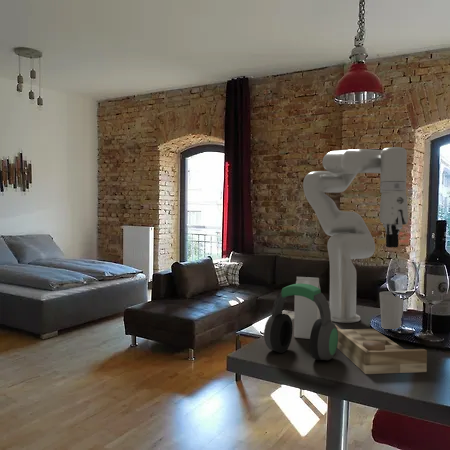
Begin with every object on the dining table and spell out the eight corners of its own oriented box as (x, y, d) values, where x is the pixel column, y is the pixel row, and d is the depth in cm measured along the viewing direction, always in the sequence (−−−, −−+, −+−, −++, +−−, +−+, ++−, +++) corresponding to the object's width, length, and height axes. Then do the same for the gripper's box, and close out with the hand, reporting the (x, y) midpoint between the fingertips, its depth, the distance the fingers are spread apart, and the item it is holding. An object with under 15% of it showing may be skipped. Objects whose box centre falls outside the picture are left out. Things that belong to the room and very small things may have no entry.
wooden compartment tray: (325, 336, 145) (325, 319, 145) (373, 335, 147) (373, 318, 147) (365, 374, 114) (365, 352, 113) (426, 371, 115) (427, 350, 115)
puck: (359, 355, 121) (359, 340, 121) (380, 355, 121) (380, 340, 121) (366, 362, 115) (366, 347, 115) (388, 362, 116) (388, 347, 115)
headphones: (339, 355, 127) (340, 285, 126) (326, 367, 118) (327, 291, 117) (278, 344, 137) (278, 278, 136) (261, 354, 128) (261, 284, 127)
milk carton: (298, 332, 151) (298, 275, 150) (319, 334, 149) (320, 276, 148) (294, 337, 144) (294, 278, 143) (316, 340, 142) (317, 279, 141)
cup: (405, 332, 151) (406, 296, 150) (380, 331, 152) (381, 295, 152) (401, 326, 158) (401, 291, 158) (377, 324, 160) (377, 291, 159)
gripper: (417, 187, 134) (415, 249, 134) (393, 188, 148) (392, 244, 149) (392, 187, 133) (391, 249, 134) (371, 188, 148) (370, 245, 149)
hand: (391, 247), depth 141 cm, fingers closed
